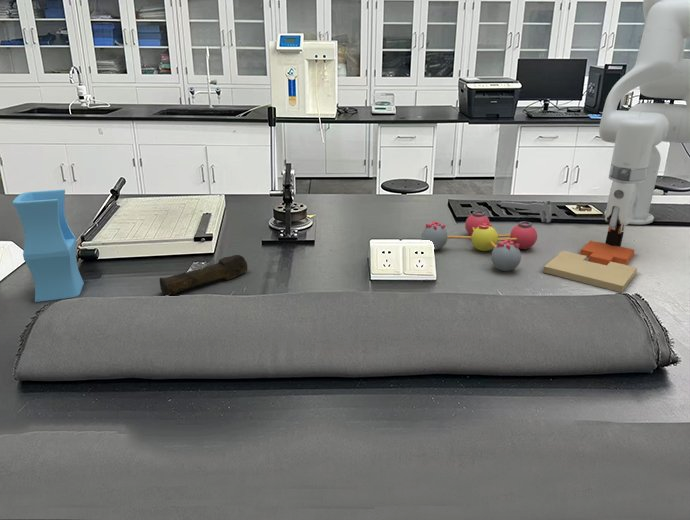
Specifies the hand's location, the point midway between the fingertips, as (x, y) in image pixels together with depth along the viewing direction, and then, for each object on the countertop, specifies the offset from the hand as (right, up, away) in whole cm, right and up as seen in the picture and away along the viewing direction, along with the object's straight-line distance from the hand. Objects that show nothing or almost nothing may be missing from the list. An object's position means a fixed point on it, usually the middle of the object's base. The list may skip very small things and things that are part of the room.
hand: (612, 246), depth 129 cm
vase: (-123, -10, -21) cm, 125 cm away
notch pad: (-12, -6, -13) cm, 18 cm away
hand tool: (-94, -8, -17) cm, 96 cm away
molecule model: (-31, -1, 0) cm, 32 cm away
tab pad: (-4, -3, -4) cm, 6 cm away
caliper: (-13, +10, +26) cm, 31 cm away
